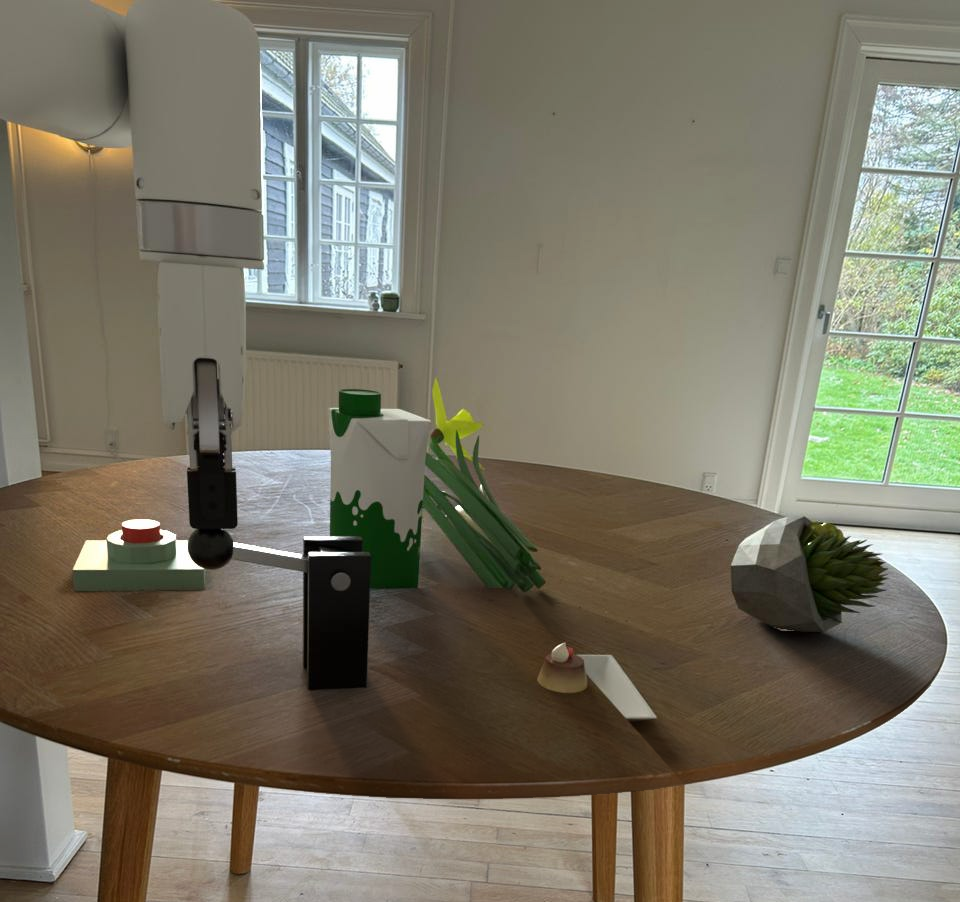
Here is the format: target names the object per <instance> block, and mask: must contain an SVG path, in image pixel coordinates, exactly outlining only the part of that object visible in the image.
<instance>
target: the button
mask: <svg viewBox="0 0 960 902" xmlns="http://www.w3.org/2000/svg"><path fill="white" fill-rule="evenodd" d="M121 530H122V536H123V541H124V542H130V543H151V542H157V541H159V540H161V535H160V530H161V523H160V522H159V521H157V520H153V519H142V518H141V519H139V518H137V519H130V520H126V521H123V522H122V523H121Z"/></svg>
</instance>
